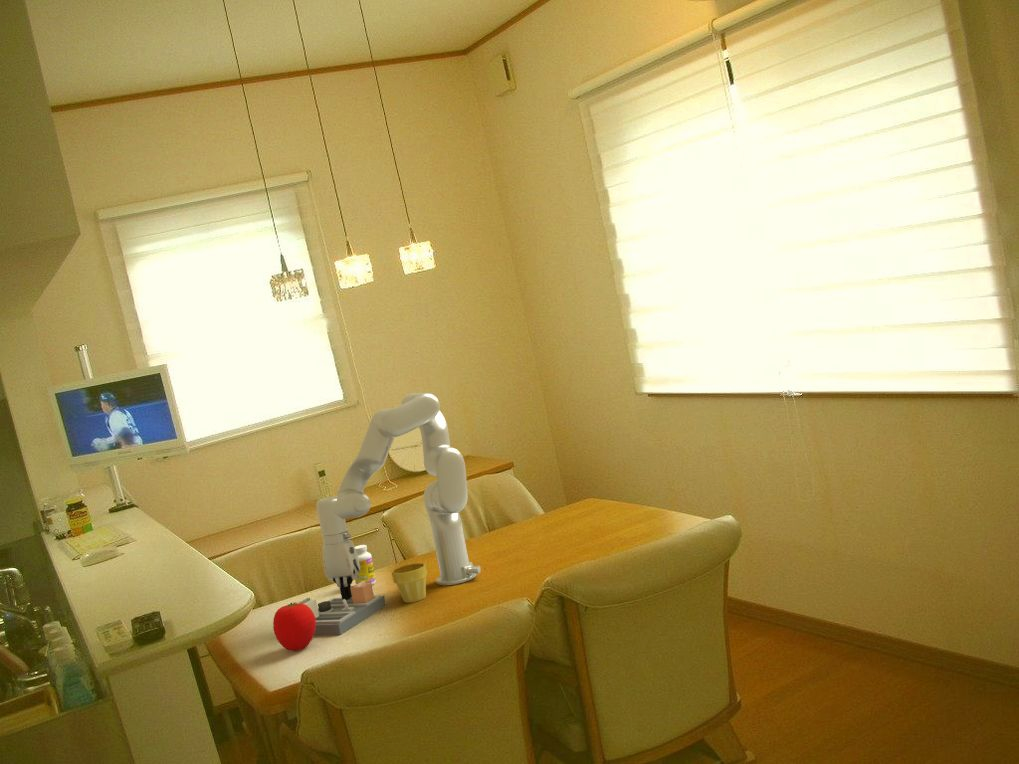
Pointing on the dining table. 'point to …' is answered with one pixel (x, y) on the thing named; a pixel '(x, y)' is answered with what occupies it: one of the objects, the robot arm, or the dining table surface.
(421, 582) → the plant pot
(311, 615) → the tomato
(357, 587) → the salmon pink block
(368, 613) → the grey slotted tray
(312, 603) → the cream slider
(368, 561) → the supplement bottle
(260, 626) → the dining table surface
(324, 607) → the black button
